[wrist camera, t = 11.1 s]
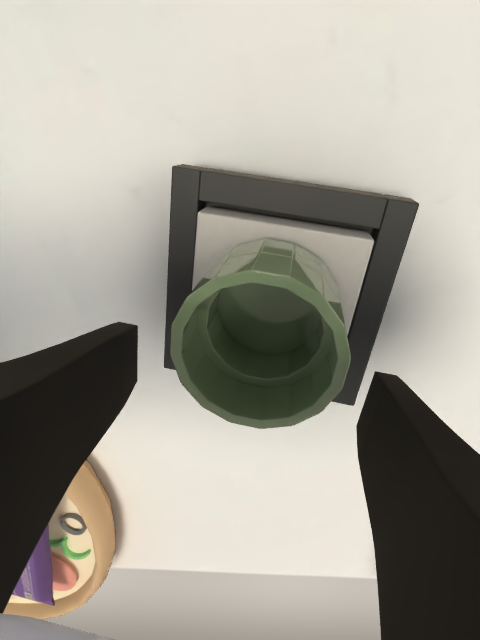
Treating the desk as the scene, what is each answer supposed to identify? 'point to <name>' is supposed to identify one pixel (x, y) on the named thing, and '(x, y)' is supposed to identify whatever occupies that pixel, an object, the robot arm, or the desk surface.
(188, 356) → the bowl
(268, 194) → the black square base
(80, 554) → the toy pizza
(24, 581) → the snack package
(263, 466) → the desk surface
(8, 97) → the desk surface
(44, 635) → the robot arm
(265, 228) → the button plate
